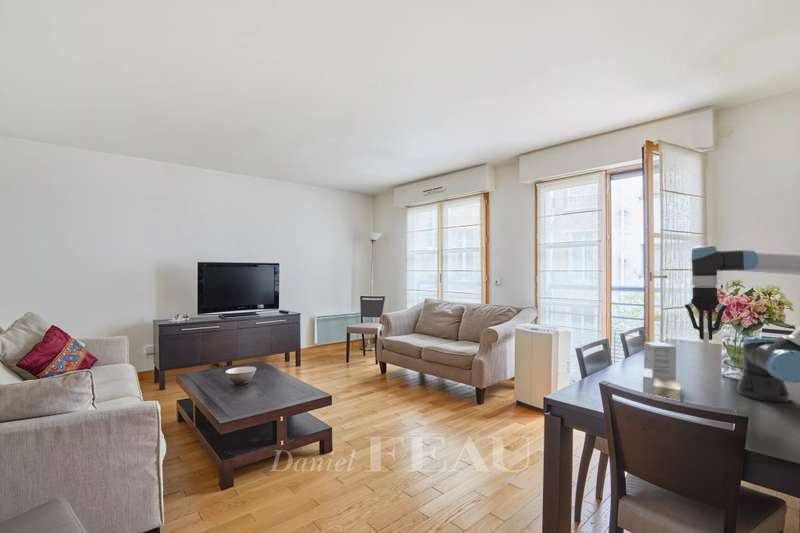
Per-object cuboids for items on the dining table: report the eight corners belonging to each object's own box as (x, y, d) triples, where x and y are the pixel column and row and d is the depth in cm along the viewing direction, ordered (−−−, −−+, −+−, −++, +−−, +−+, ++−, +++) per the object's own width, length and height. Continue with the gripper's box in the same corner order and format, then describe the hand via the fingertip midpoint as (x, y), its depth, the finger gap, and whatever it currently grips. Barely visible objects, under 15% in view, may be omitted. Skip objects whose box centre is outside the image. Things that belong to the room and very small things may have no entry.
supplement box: (676, 385, 166) (676, 346, 166) (652, 384, 168) (652, 345, 168) (665, 379, 176) (666, 342, 175) (643, 378, 177) (643, 341, 177)
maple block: (680, 394, 157) (680, 382, 157) (680, 403, 147) (680, 390, 147) (653, 390, 162) (653, 378, 162) (652, 398, 152) (652, 385, 152)
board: (652, 388, 163) (652, 369, 163) (652, 398, 151) (652, 377, 151) (644, 386, 165) (644, 368, 165) (643, 396, 153) (643, 376, 153)
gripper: (724, 286, 148) (726, 347, 149) (682, 285, 155) (684, 344, 155) (728, 287, 142) (730, 351, 142) (684, 287, 149) (686, 348, 149)
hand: (706, 348), depth 149 cm, fingers closed
